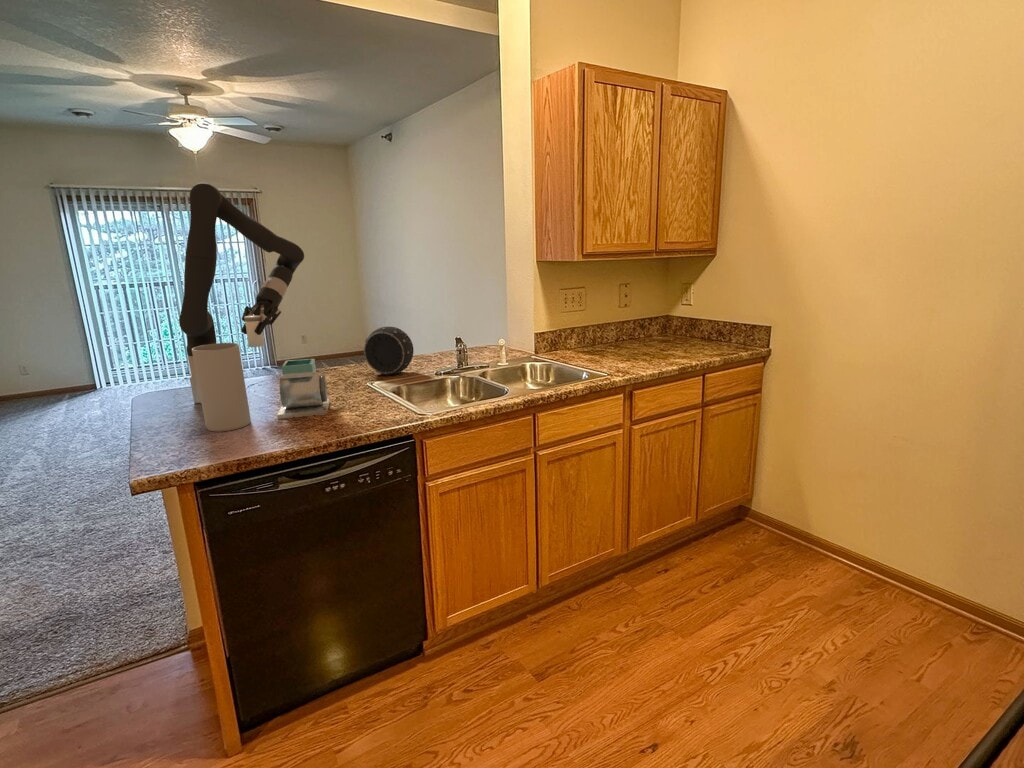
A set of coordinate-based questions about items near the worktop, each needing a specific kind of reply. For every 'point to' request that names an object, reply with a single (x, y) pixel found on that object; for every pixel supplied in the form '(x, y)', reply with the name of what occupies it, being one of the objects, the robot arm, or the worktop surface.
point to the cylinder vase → (221, 386)
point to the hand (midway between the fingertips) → (250, 332)
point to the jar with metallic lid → (253, 331)
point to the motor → (302, 390)
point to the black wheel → (388, 350)
